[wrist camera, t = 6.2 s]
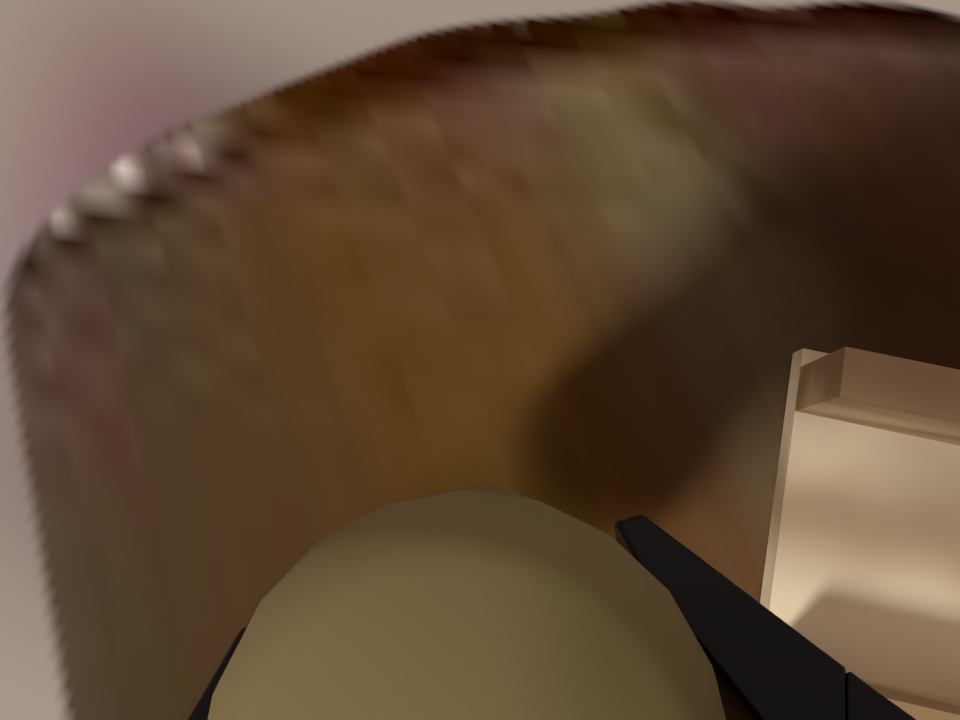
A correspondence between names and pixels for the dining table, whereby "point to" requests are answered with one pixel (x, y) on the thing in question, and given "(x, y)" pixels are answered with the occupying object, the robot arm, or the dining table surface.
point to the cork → (468, 624)
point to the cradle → (872, 522)
